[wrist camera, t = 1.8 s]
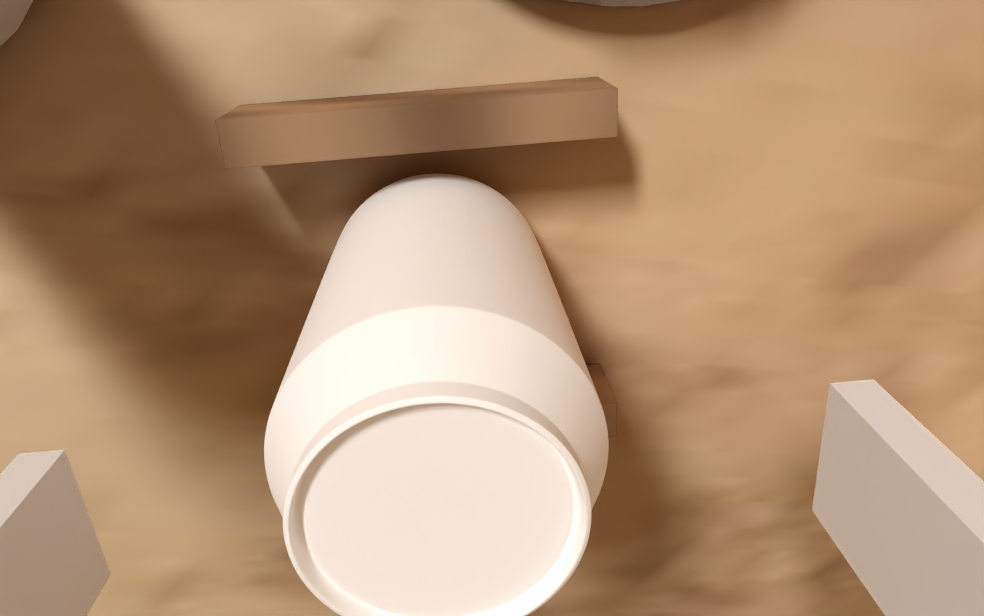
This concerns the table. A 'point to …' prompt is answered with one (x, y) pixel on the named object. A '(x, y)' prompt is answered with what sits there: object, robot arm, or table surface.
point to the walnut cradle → (425, 132)
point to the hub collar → (623, 2)
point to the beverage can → (436, 415)
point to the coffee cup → (12, 16)
